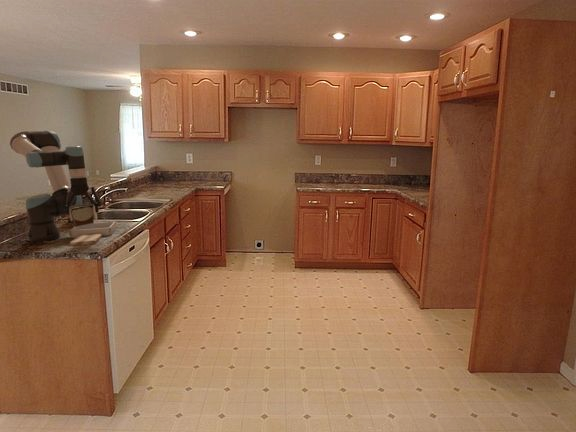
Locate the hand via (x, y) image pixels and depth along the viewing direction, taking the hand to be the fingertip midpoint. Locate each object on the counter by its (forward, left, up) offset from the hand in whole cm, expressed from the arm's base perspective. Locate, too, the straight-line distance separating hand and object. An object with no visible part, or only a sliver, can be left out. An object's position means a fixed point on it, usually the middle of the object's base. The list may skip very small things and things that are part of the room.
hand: (84, 219), depth 208 cm
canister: (-18, +55, -11) cm, 59 cm away
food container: (-1, 0, -2) cm, 3 cm away
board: (0, 0, -11) cm, 11 cm away
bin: (0, +17, -11) cm, 21 cm away
